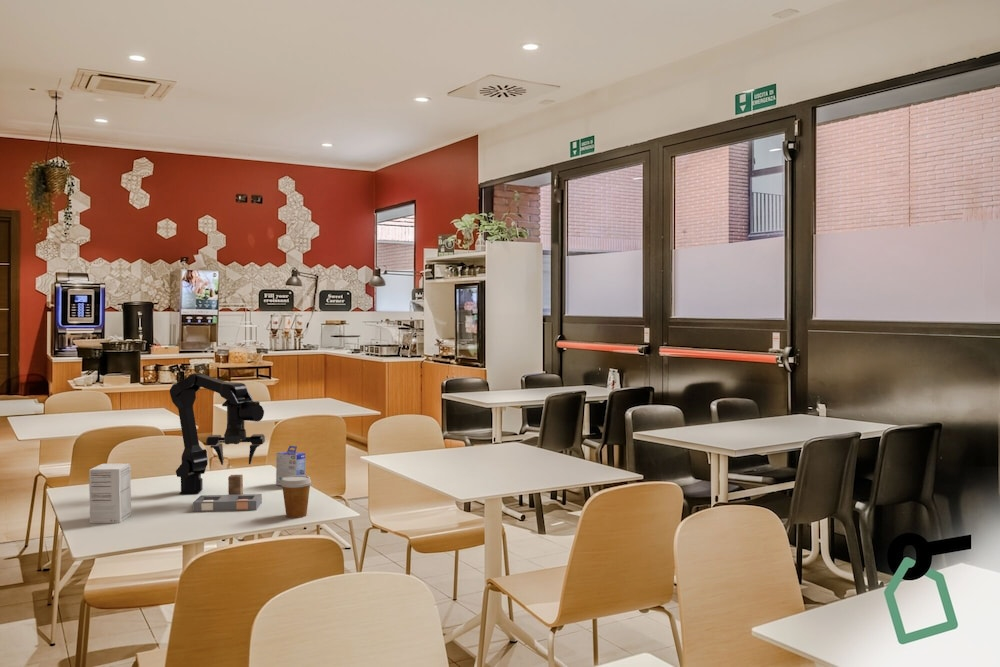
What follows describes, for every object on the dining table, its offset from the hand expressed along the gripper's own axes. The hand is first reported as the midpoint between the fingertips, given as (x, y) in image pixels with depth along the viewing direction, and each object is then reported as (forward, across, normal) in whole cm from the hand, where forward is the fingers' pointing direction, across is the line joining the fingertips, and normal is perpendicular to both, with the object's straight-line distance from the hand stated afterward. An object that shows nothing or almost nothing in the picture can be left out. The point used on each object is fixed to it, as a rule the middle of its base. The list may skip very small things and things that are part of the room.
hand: (236, 464), depth 281 cm
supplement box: (+12, -34, -24) cm, 43 cm away
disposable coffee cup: (+12, +23, -27) cm, 37 cm away
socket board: (+12, 0, -12) cm, 17 cm away
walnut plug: (+12, 0, 0) cm, 12 cm away
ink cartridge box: (+12, +16, +19) cm, 28 cm away
